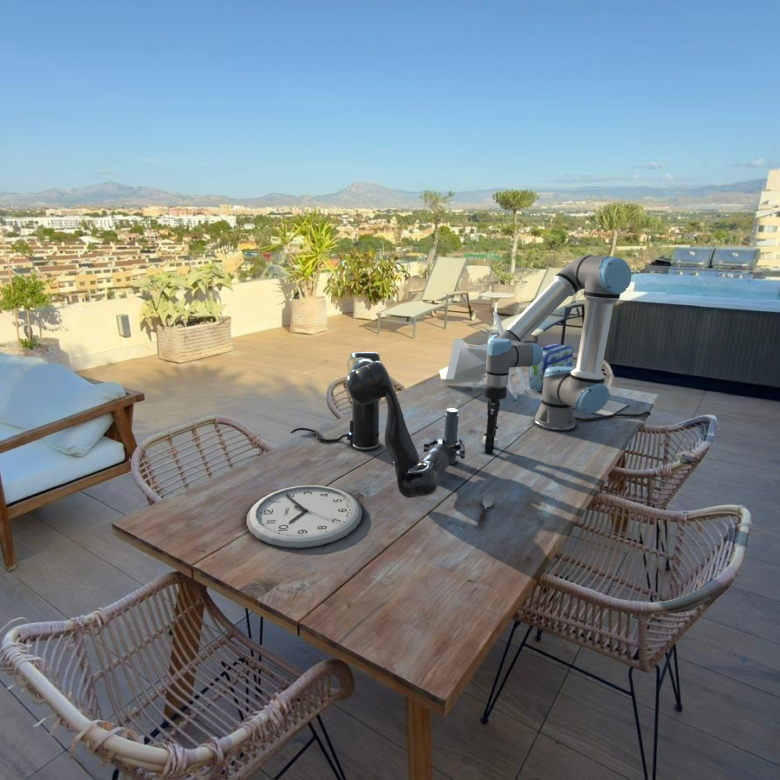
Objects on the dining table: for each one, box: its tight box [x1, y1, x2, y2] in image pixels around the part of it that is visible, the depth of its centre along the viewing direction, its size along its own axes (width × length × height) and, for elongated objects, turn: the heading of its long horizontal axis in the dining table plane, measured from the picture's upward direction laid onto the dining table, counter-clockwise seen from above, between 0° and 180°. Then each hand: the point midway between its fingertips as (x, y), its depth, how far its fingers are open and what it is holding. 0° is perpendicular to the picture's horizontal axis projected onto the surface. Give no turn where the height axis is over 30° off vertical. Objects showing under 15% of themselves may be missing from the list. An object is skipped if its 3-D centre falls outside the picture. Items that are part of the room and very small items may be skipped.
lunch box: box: [528, 343, 574, 392], centre depth 248 cm, size 26×11×21 cm, turn 134°
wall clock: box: [246, 484, 363, 549], centre depth 137 cm, size 30×2×30 cm
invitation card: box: [594, 399, 629, 416], centre depth 226 cm, size 21×1×15 cm
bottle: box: [443, 407, 460, 465], centre depth 168 cm, size 4×4×18 cm
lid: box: [481, 435, 499, 446], centre depth 179 cm, size 5×5×2 cm
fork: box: [477, 491, 494, 527], centre depth 140 cm, size 3×16×2 cm, turn 160°
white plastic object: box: [438, 310, 531, 400], centre depth 245 cm, size 37×45×31 cm
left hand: (452, 440), depth 171 cm, fingers closed on bottle, 4 cm apart
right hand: (489, 449), depth 180 cm, fingers closed on lid, 5 cm apart
